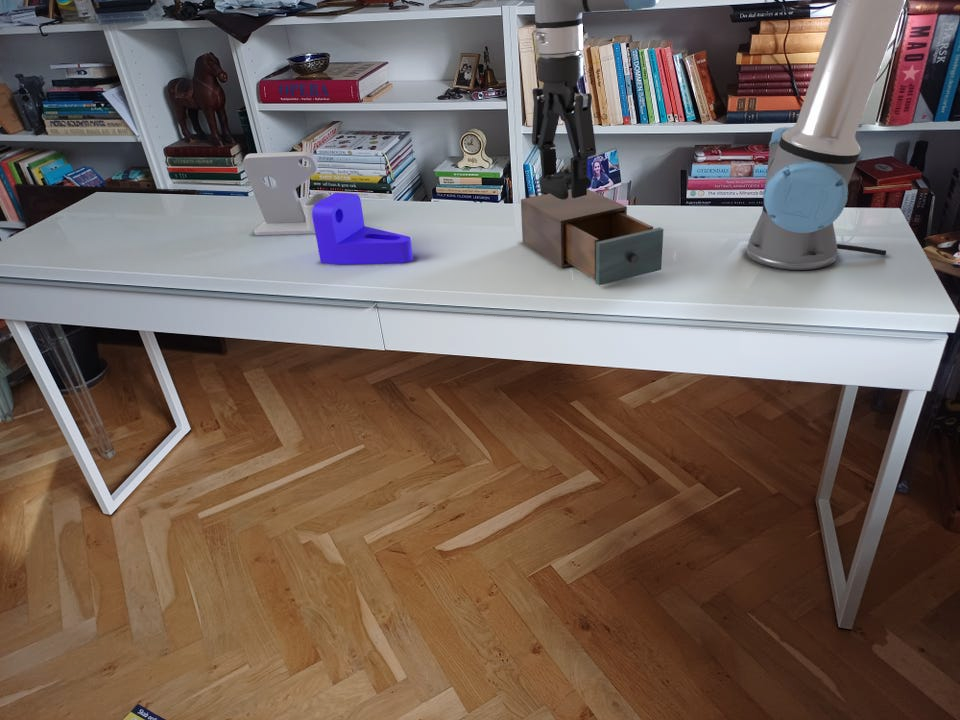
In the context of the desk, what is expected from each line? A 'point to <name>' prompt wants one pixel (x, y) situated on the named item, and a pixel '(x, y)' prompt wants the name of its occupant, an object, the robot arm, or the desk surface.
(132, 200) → the desk surface
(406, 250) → the bracket
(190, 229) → the desk surface
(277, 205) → the phone holder
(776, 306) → the desk surface
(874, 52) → the robot arm
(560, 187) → the gaming controller
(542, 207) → the cabinet
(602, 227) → the drawer
